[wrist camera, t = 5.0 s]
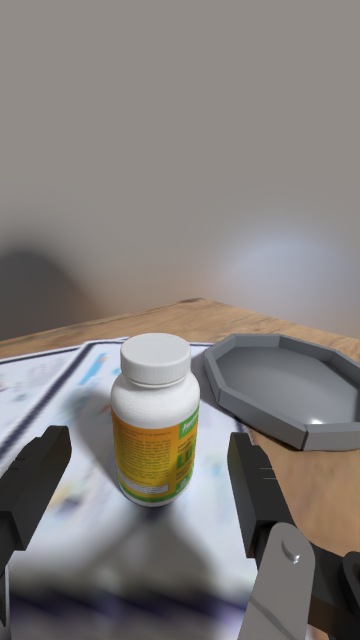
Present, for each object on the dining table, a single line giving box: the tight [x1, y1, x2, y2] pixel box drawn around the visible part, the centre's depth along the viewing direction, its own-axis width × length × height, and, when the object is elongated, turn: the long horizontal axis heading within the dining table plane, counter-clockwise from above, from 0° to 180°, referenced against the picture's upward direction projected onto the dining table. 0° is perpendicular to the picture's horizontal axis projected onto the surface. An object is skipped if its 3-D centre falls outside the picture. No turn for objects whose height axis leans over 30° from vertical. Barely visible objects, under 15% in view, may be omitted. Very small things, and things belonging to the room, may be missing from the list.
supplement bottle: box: [111, 333, 200, 507], centre depth 14 cm, size 5×5×10 cm
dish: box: [203, 334, 360, 452], centre depth 26 cm, size 18×18×2 cm
